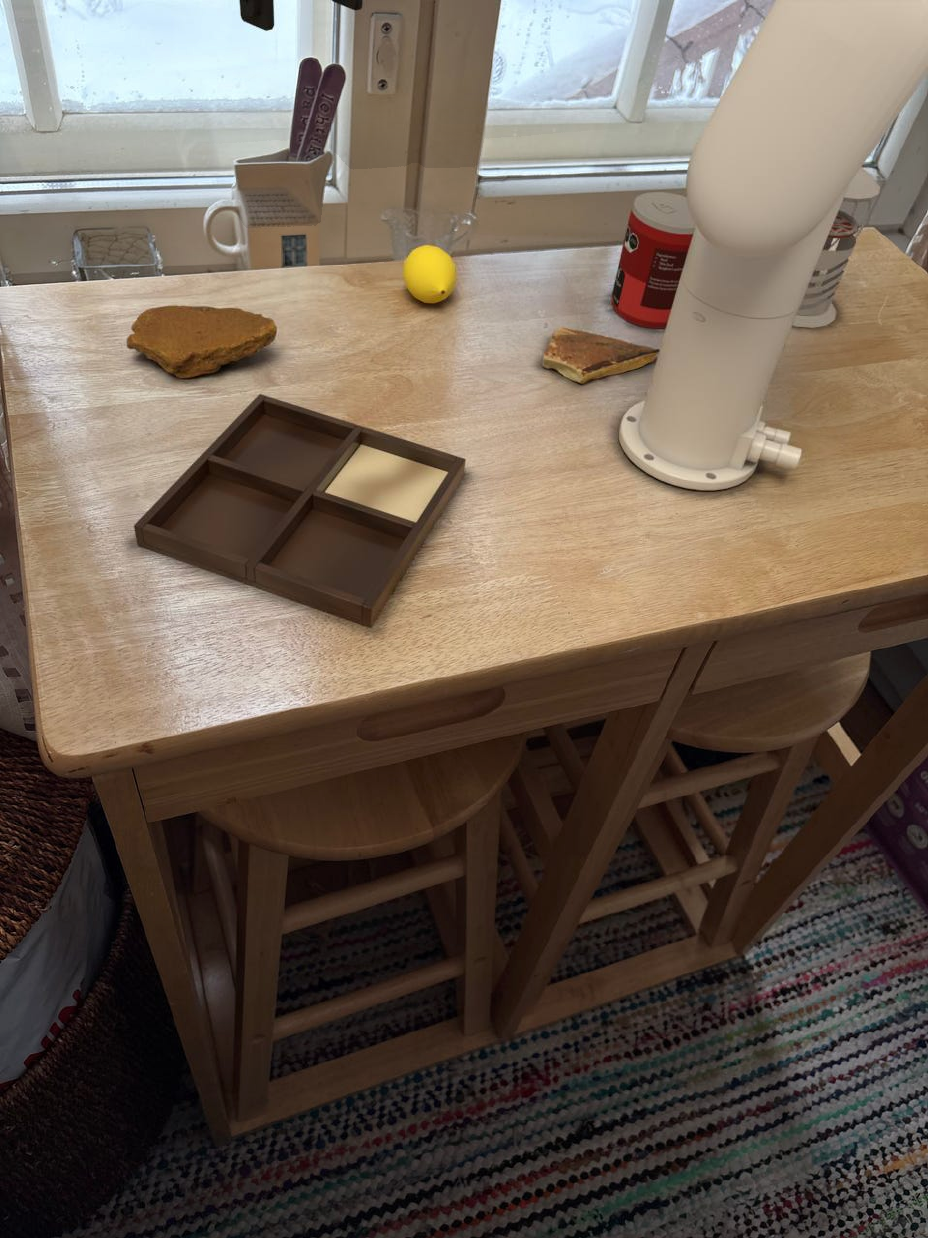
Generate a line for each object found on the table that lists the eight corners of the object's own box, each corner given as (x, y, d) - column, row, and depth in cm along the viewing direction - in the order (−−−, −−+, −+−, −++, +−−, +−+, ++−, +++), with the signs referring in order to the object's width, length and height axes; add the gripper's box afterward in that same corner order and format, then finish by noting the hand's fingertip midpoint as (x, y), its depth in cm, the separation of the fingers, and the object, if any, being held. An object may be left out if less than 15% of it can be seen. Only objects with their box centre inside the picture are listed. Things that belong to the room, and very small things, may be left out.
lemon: (392, 284, 103) (395, 234, 99) (441, 279, 104) (446, 230, 100) (414, 319, 98) (417, 268, 94) (464, 314, 100) (470, 264, 96)
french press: (730, 293, 109) (812, 45, 91) (796, 270, 115) (886, 32, 96) (798, 336, 104) (899, 82, 86) (864, 310, 110) (972, 67, 91)
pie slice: (659, 362, 98) (663, 346, 96) (648, 403, 93) (653, 387, 91) (553, 337, 99) (556, 321, 98) (537, 376, 94) (540, 360, 92)
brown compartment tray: (463, 477, 82) (466, 458, 81) (370, 628, 70) (371, 608, 68) (260, 412, 85) (259, 393, 84) (137, 545, 73) (133, 525, 71)
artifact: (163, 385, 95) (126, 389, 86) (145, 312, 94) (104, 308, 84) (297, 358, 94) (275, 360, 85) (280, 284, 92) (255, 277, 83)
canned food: (630, 283, 108) (655, 183, 100) (694, 311, 105) (725, 211, 97) (595, 308, 104) (618, 206, 96) (661, 338, 101) (691, 235, 93)
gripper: (238, -259, 60) (253, 48, 73) (425, -260, 70) (409, 11, 83) (160, -281, 63) (186, 19, 75) (349, -279, 73) (345, -14, 85)
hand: (303, 14), depth 79 cm, fingers open, 9 cm apart
